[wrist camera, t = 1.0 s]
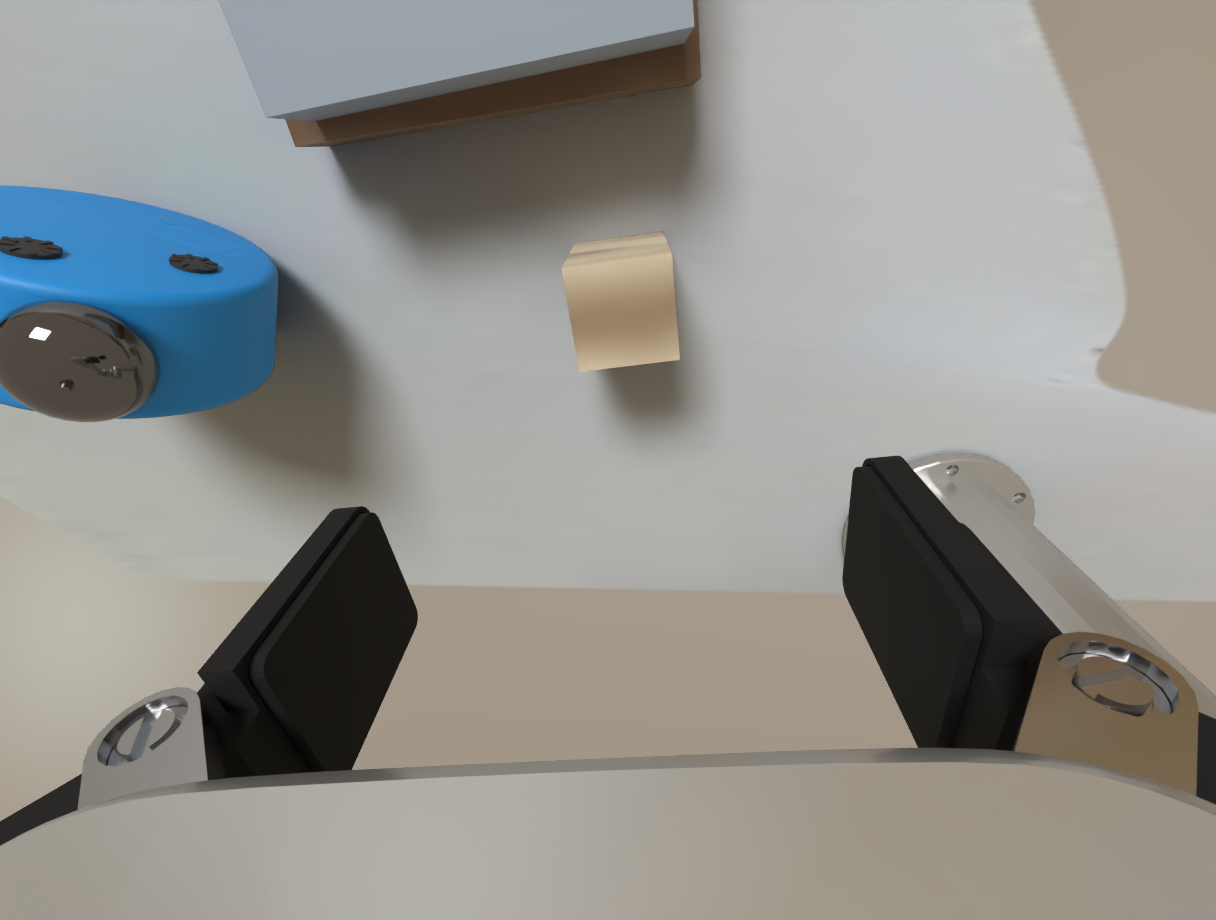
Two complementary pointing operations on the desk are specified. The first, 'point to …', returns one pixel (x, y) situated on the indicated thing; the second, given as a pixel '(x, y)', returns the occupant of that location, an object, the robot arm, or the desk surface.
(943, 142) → the desk surface
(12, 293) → the alarm clock
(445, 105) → the walnut slab
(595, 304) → the beech block
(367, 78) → the slate slab
